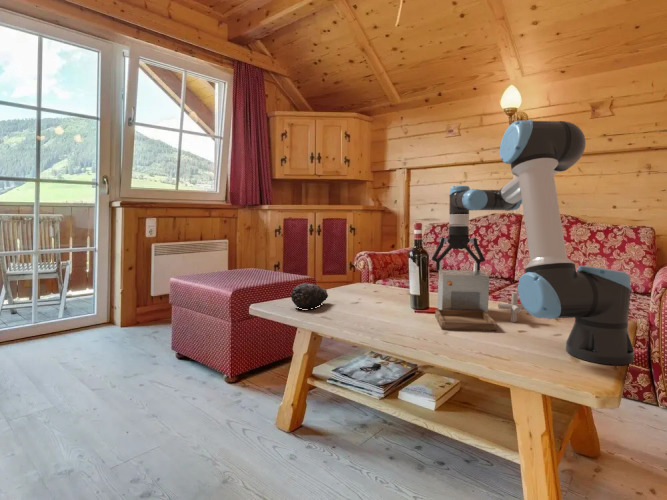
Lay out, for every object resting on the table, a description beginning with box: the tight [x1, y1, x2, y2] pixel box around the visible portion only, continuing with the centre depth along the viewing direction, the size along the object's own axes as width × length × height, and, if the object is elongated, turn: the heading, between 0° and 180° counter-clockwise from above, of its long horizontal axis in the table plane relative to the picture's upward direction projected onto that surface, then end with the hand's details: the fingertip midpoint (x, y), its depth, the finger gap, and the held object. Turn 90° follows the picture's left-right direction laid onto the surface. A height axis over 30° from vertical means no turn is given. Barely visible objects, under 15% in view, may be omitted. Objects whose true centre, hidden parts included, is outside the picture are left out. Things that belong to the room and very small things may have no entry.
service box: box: [437, 269, 490, 315], centre depth 153 cm, size 13×16×15 cm
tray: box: [434, 308, 498, 333], centre depth 139 cm, size 17×17×2 cm
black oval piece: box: [290, 282, 329, 309], centre depth 163 cm, size 10×18×10 cm, turn 154°
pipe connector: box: [497, 291, 526, 323], centre depth 141 cm, size 10×10×10 cm
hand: (457, 278), depth 164 cm, fingers open, 13 cm apart
